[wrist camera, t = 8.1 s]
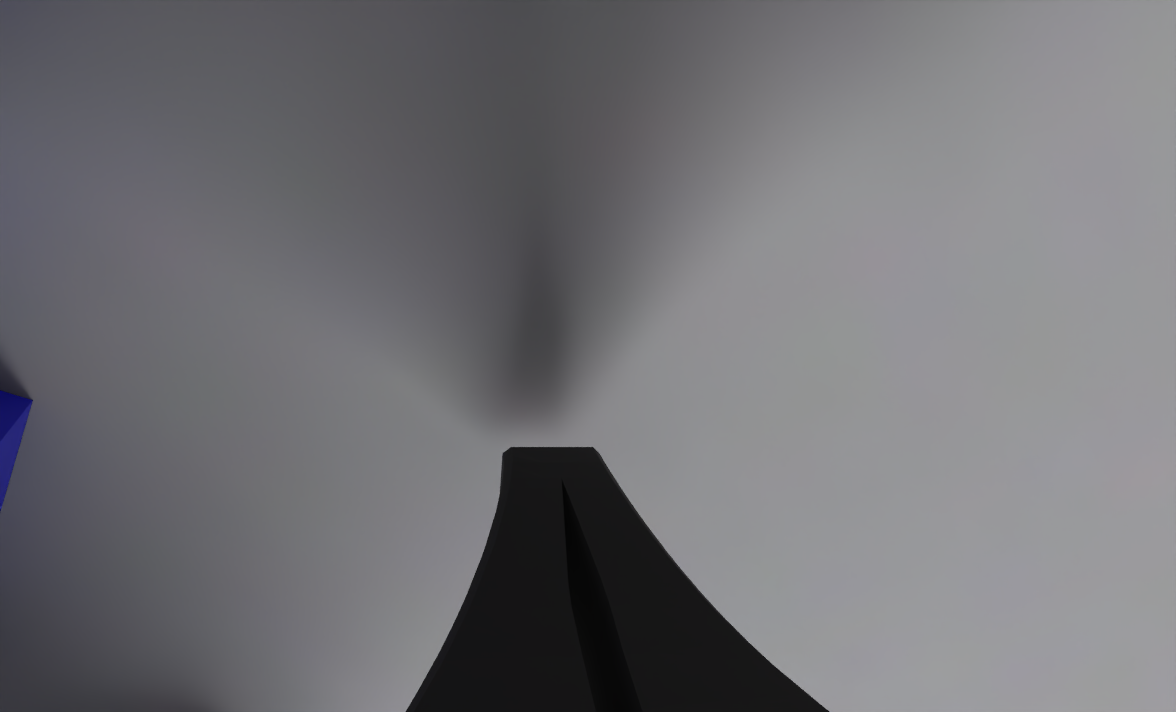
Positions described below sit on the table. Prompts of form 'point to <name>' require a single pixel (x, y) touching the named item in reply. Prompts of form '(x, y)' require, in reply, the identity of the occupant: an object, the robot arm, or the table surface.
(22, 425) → the cable clip
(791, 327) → the table surface
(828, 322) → the table surface
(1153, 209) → the table surface
